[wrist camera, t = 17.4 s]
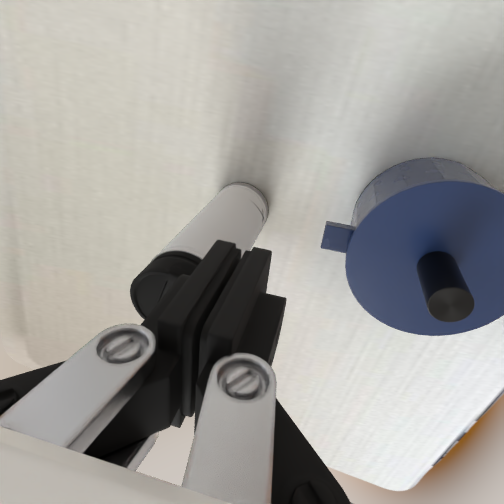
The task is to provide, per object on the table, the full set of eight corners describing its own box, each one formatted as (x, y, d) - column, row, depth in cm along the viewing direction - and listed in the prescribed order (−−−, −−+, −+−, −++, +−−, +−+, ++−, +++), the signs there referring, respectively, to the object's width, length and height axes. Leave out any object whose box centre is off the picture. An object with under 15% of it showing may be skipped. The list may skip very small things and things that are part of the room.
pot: (342, 142, 36) (339, 164, 29) (552, 175, 33) (607, 210, 26) (316, 259, 43) (308, 301, 36) (489, 296, 40) (519, 349, 33)
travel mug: (279, 196, 41) (223, 299, 23) (254, 241, 44) (189, 360, 27) (230, 169, 40) (138, 252, 23) (208, 216, 44) (115, 319, 27)
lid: (369, 161, 29) (372, 188, 23) (573, 195, 27) (632, 234, 21) (330, 307, 36) (326, 354, 30) (488, 343, 34) (515, 402, 28)
